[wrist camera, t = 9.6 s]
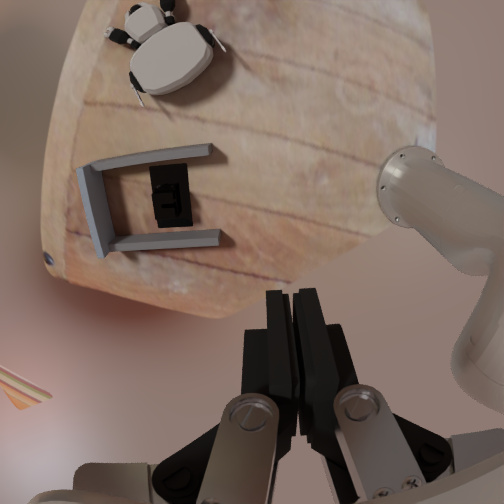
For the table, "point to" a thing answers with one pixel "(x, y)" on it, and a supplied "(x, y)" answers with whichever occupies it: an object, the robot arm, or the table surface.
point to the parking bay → (100, 213)
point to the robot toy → (163, 48)
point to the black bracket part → (171, 195)
